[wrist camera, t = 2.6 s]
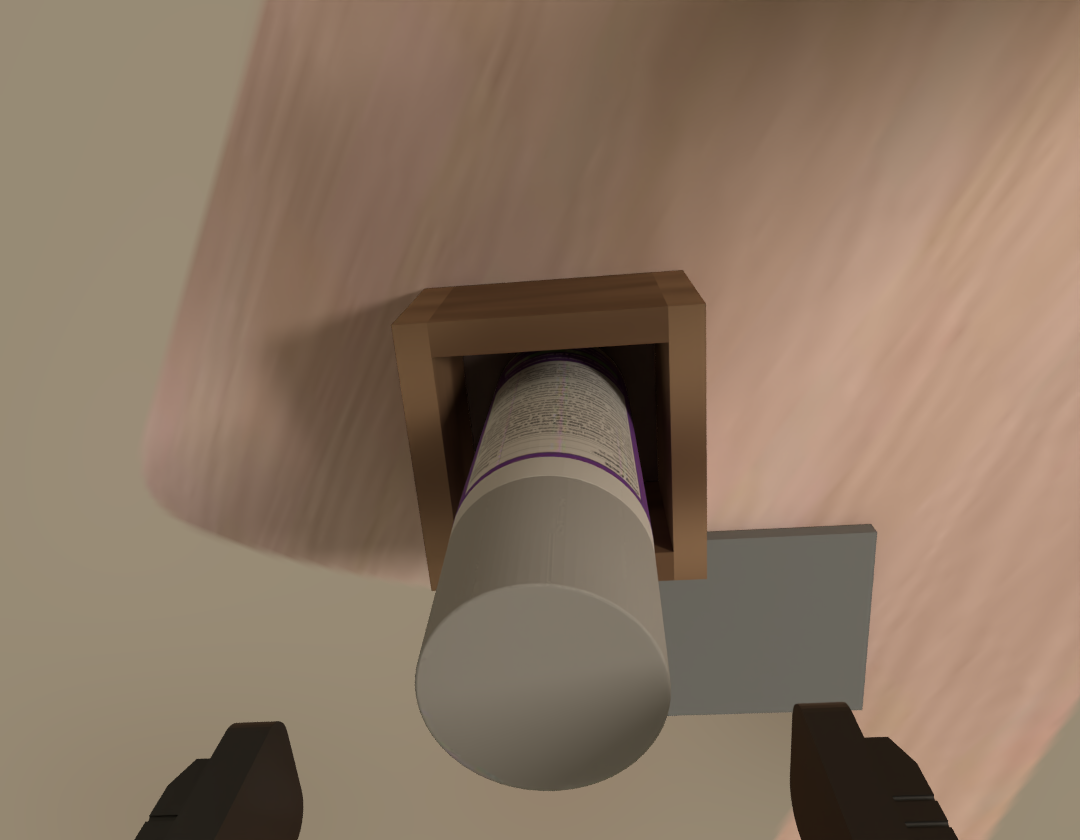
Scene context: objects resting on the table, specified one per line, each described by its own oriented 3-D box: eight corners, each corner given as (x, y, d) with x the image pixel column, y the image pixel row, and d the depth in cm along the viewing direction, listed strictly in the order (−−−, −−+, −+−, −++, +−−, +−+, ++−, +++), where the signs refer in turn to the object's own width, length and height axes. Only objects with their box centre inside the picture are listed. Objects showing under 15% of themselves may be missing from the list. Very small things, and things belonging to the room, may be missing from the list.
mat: (651, 534, 29) (653, 542, 29) (871, 524, 28) (877, 532, 28) (657, 705, 32) (658, 715, 31) (857, 699, 31) (862, 710, 31)
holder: (424, 288, 26) (391, 325, 21) (682, 270, 25) (705, 303, 21) (455, 515, 29) (431, 590, 25) (686, 504, 29) (707, 579, 24)
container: (592, 481, 28) (605, 831, 14) (474, 430, 28) (369, 741, 14) (651, 370, 27) (729, 643, 13) (527, 314, 26) (468, 534, 12)
